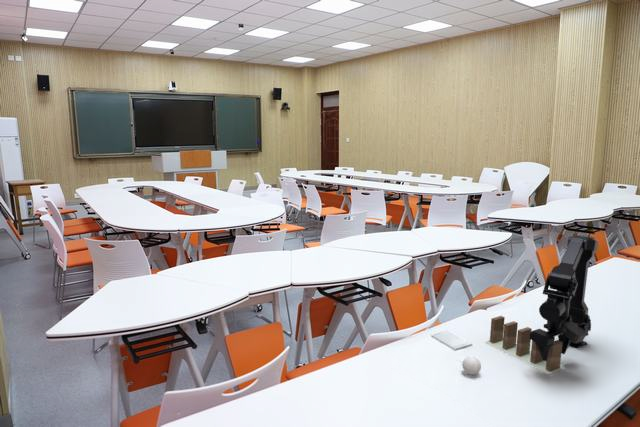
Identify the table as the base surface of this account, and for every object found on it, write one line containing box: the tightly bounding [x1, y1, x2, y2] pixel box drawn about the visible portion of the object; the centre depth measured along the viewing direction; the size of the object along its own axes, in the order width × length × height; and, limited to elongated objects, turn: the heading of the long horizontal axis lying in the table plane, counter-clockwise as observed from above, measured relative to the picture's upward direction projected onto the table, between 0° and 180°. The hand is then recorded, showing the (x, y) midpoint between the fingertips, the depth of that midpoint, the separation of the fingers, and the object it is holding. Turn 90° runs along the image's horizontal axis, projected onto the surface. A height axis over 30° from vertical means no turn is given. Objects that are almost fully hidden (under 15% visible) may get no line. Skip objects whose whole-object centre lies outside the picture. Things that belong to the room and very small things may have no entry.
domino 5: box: [546, 339, 563, 372], centre depth 144 cm, size 2×5×9 cm, turn 119°
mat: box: [484, 340, 566, 375], centre depth 154 cm, size 9×25×1 cm, turn 29°
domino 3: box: [516, 326, 533, 357], centre depth 153 cm, size 2×5×9 cm, turn 119°
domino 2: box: [502, 321, 519, 350], centre depth 158 cm, size 2×5×9 cm, turn 119°
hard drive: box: [430, 330, 473, 352], centre depth 164 cm, size 2×8×12 cm
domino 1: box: [489, 315, 505, 344], centre depth 163 cm, size 2×5×9 cm, turn 119°
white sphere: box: [459, 355, 482, 376], centre depth 142 cm, size 8×6×6 cm
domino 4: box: [530, 340, 544, 364], centre depth 148 cm, size 2×5×9 cm, turn 119°
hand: (553, 357), depth 144 cm, fingers open, 9 cm apart
